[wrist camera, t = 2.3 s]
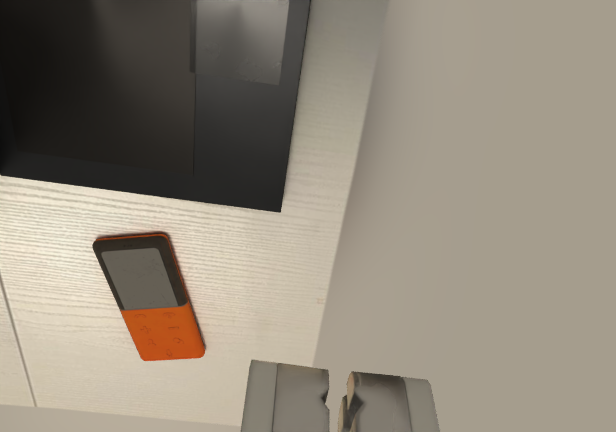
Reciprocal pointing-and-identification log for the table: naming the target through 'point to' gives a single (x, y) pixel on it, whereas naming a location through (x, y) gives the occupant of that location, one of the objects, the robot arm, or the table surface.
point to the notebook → (152, 95)
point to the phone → (150, 296)
